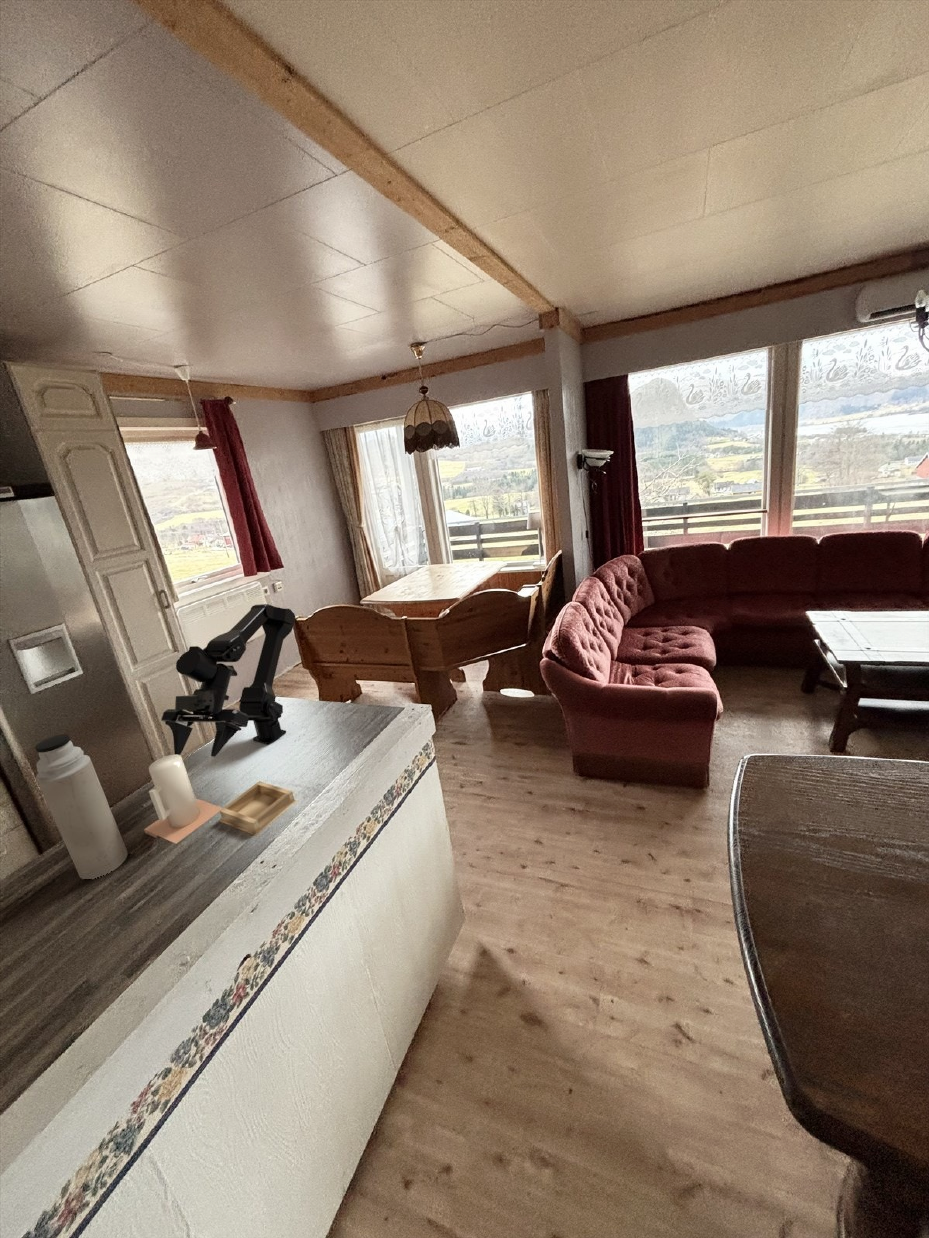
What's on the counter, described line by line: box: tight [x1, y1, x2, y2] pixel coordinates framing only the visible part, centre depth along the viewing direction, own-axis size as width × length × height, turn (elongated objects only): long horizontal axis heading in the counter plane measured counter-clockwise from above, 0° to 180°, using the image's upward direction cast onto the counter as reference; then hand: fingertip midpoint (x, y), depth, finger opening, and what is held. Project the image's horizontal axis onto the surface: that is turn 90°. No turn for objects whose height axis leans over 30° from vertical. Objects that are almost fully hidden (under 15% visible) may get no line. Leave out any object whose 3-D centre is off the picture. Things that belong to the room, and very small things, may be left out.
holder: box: [219, 780, 298, 836], centre depth 106 cm, size 11×11×4 cm
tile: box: [144, 797, 224, 845], centre depth 106 cm, size 11×11×1 cm
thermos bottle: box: [35, 733, 128, 880], centre depth 93 cm, size 8×8×28 cm
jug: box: [148, 753, 200, 828], centre depth 103 cm, size 8×6×14 cm
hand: (194, 756), depth 110 cm, fingers open, 9 cm apart
